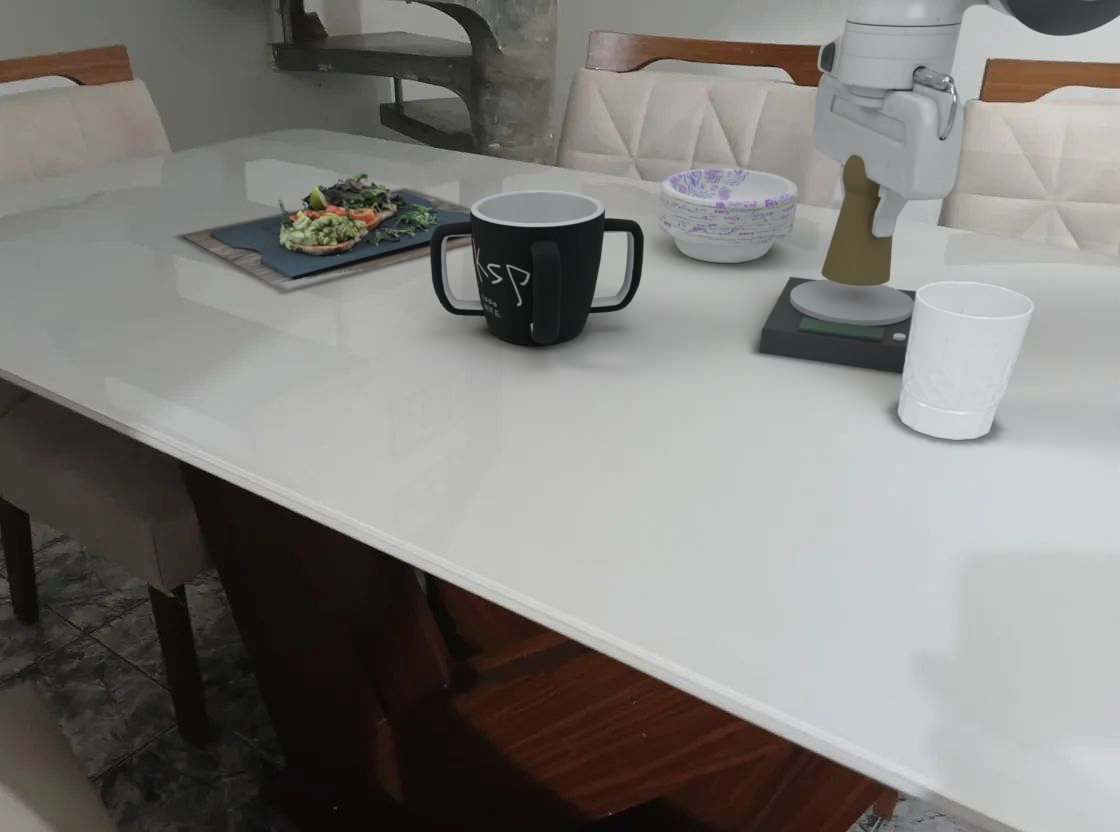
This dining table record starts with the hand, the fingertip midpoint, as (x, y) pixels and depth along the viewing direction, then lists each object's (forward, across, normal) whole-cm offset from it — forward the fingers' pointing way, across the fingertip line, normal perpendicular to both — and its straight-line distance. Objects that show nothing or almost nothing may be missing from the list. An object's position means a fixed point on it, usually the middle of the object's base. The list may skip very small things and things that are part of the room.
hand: (865, 225), depth 87 cm
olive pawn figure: (+5, 0, 0) cm, 5 cm away
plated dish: (+10, +39, +47) cm, 62 cm away
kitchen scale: (+10, -1, +1) cm, 10 cm away
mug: (+10, +4, +29) cm, 31 cm away
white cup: (+10, -19, 0) cm, 22 cm away
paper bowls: (+10, +25, +4) cm, 27 cm away
